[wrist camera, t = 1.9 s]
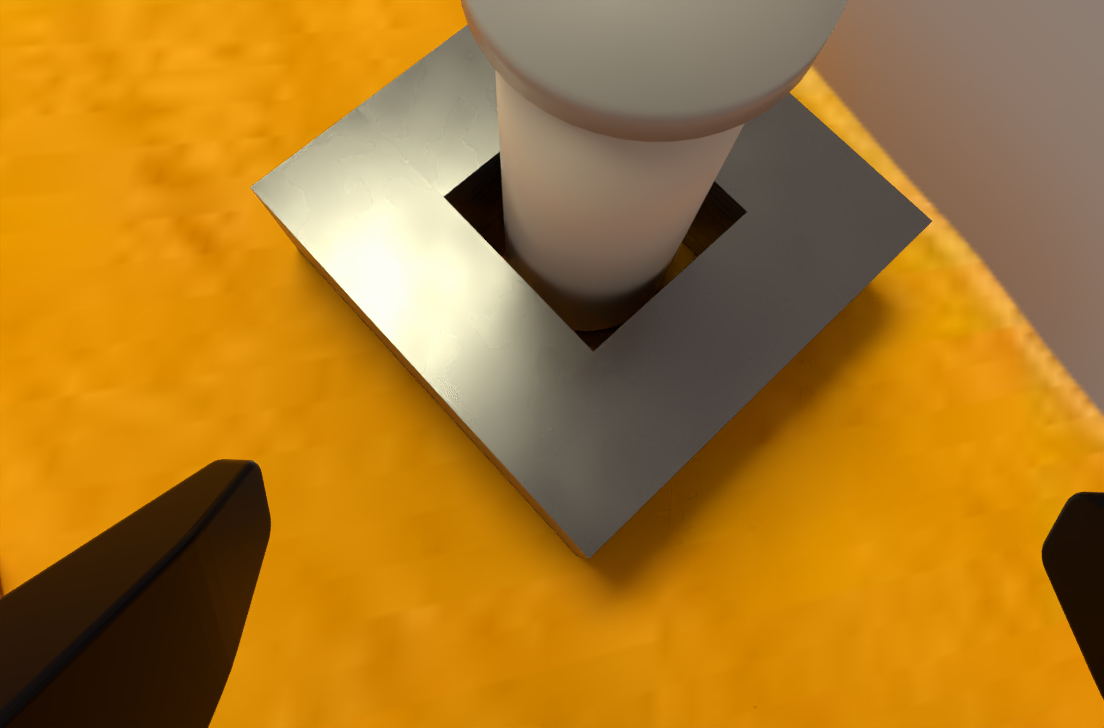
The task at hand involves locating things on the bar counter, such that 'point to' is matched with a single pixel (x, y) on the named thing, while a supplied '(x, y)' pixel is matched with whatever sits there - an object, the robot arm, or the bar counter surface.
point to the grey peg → (626, 129)
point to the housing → (528, 321)
